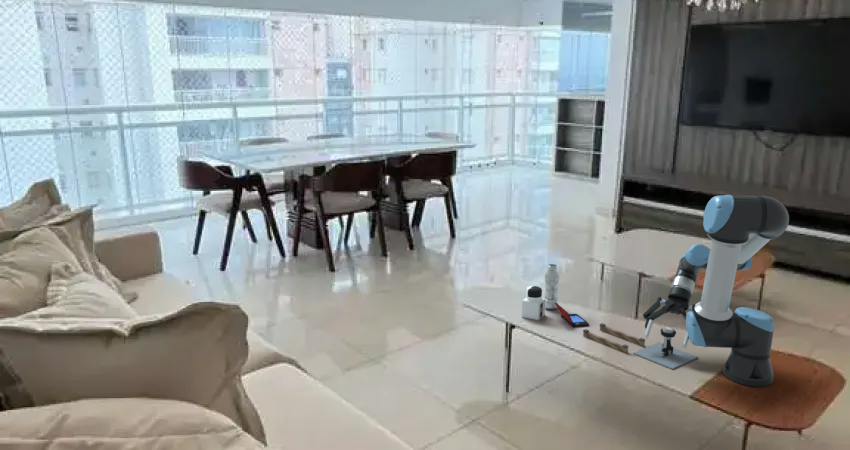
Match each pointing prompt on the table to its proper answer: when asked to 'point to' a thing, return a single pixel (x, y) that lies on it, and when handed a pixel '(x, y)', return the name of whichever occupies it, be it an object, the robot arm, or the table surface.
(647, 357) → the slate mat
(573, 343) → the table surface
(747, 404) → the table surface
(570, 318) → the handheld game console
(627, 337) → the rails
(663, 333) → the push button
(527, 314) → the container
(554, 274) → the plastic bottle
